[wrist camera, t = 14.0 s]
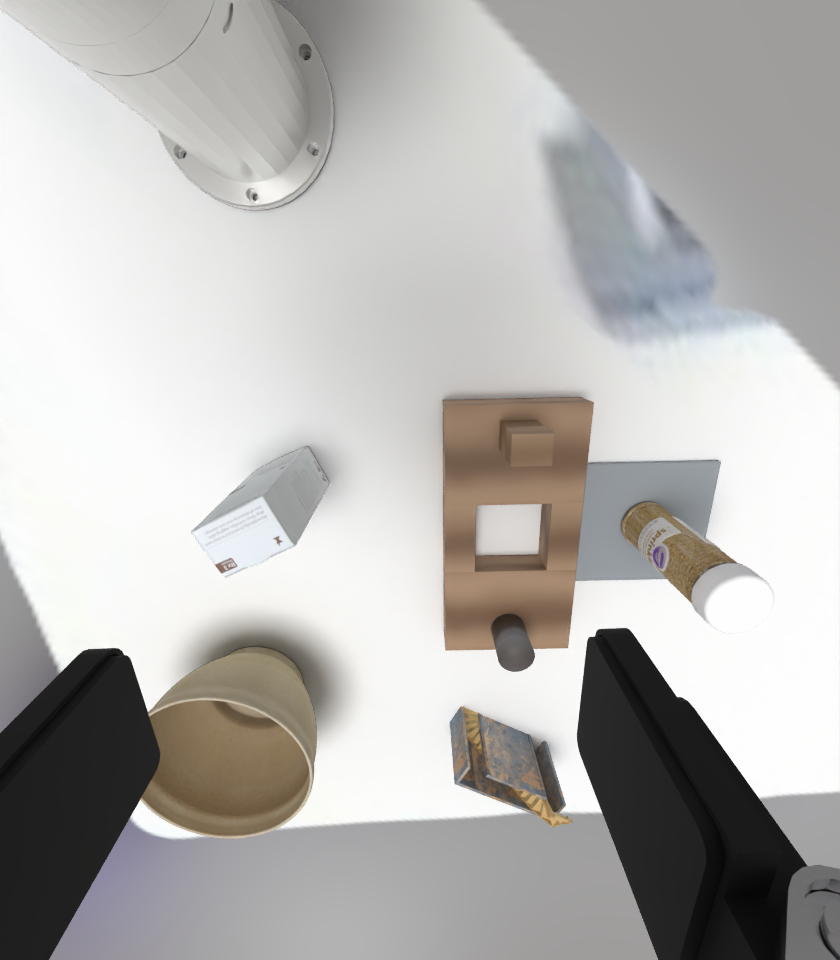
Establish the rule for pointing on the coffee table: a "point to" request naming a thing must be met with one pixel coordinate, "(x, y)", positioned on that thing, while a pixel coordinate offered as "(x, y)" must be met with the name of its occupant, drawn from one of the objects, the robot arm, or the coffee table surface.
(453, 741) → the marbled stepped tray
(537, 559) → the wooden peg board
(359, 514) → the coffee table surface
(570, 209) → the coffee table surface
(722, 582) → the sprinkles bottle
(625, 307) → the coffee table surface
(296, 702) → the planter bowl
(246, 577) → the coffee table surface
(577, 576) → the pad
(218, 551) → the skincare box
